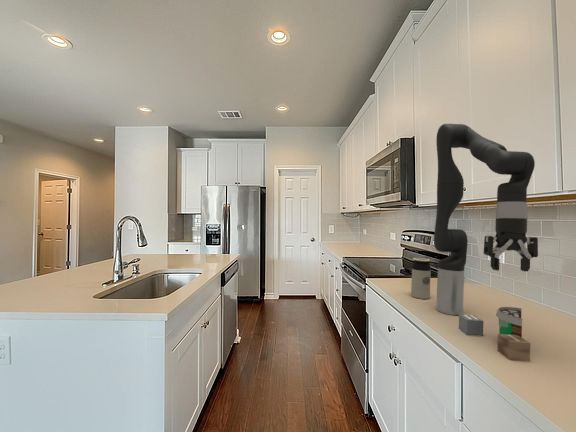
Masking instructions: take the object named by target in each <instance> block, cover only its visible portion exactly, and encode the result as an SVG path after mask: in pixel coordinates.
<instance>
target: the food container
mask: <svg viewBox="0 0 576 432" xmlns="http://www.w3.org/2000/svg"><path fill="white" fill-rule="evenodd" d="M495 316H496V318H497V319H498V332H499V333H498V334H509V335H517V336H519V337H521V338H522V337H523V335H522V333H523V332H522V331H523V318H522V308H521V307H514V306H500V307H498V309H497V310H496V314H495Z"/></svg>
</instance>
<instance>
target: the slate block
mask: <svg viewBox="0 0 576 432" xmlns="http://www.w3.org/2000/svg"><path fill="white" fill-rule="evenodd" d="M459 329H460V330H459ZM458 330H459V331H461V332H462V333H463V334H465V335H466V336H475V337H476V336H477V337H483V336H484V320H483V319H481V318H479V317H478V316H476V315H475V314H462V315H460V314H459V315H458Z"/></svg>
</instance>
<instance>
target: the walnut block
mask: <svg viewBox="0 0 576 432" xmlns="http://www.w3.org/2000/svg"><path fill="white" fill-rule="evenodd" d="M497 352H498V353H499V354H500V355H503V356H504V357H505V358H506V359H508V360H510V361H516V362H517V361H520V362H530V360H531V359H530V358H531V342H529V341H527V340H526V339H524V338H521V337H519V336H517V335H509V334H499V333H498V334H497Z"/></svg>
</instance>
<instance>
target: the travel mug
mask: <svg viewBox="0 0 576 432" xmlns="http://www.w3.org/2000/svg"><path fill="white" fill-rule="evenodd" d="M412 260H413V263H412V265H411V294H410V295H411V296H412V298H415V299H419V300H429V299H430V298H431V278H432V277H431V275H432V274H431V271H432V267H431V265H430V261H431V259H430V258H425V257H413V258H412Z"/></svg>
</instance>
